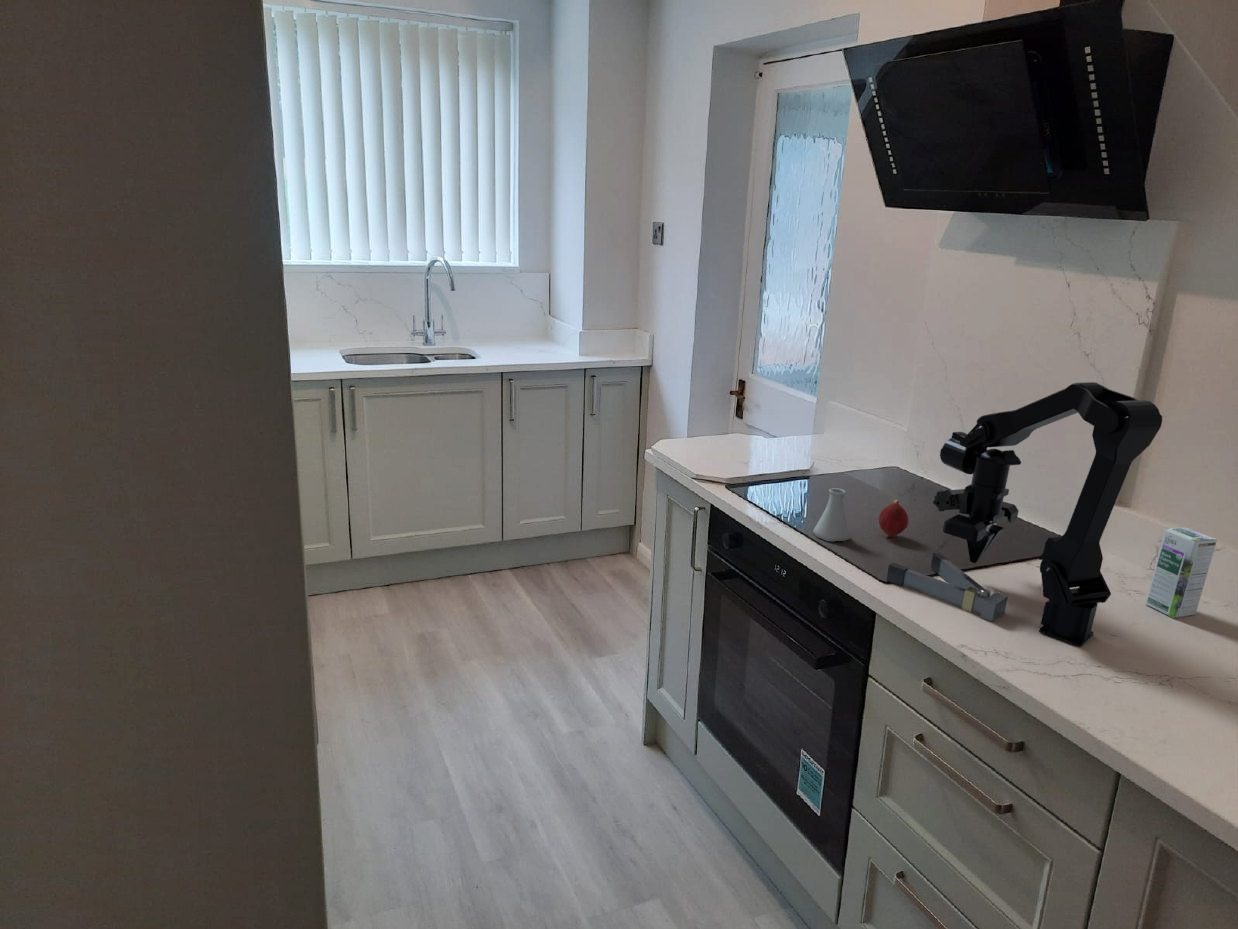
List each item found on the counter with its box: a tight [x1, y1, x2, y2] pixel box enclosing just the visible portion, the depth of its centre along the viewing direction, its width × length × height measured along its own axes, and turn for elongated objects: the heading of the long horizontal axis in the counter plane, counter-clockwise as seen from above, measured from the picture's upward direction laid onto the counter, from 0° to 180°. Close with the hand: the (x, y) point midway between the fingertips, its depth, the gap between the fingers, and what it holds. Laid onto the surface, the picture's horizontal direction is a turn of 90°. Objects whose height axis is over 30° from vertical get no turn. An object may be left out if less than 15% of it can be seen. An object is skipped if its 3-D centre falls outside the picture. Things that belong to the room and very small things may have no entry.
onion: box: [878, 499, 909, 538], centre depth 175 cm, size 6×6×8 cm
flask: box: [812, 487, 851, 542], centre depth 174 cm, size 7×7×10 cm
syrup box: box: [1145, 527, 1218, 619], centre depth 147 cm, size 6×6×14 cm
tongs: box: [885, 562, 1009, 623], centre depth 149 cm, size 20×5×4 cm, turn 45°
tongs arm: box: [930, 552, 992, 597], centre depth 153 cm, size 17×2×3 cm, turn 9°
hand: (973, 562), depth 157 cm, fingers closed
